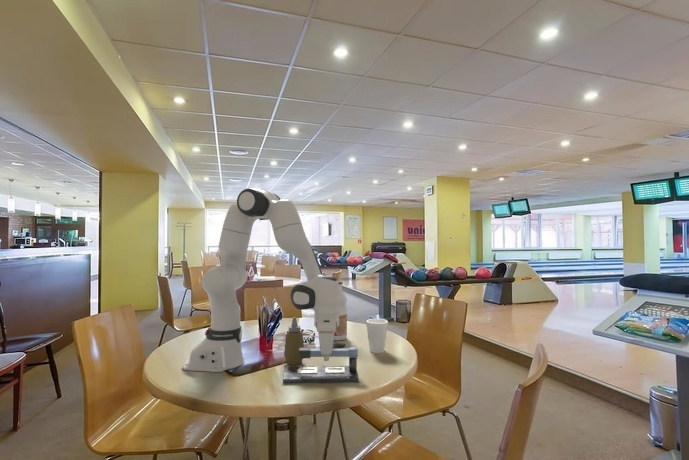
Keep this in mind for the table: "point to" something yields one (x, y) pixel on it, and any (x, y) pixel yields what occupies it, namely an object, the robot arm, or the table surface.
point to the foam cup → (377, 334)
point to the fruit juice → (341, 315)
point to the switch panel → (322, 374)
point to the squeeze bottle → (293, 344)
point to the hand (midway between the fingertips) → (326, 359)
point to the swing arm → (310, 352)
